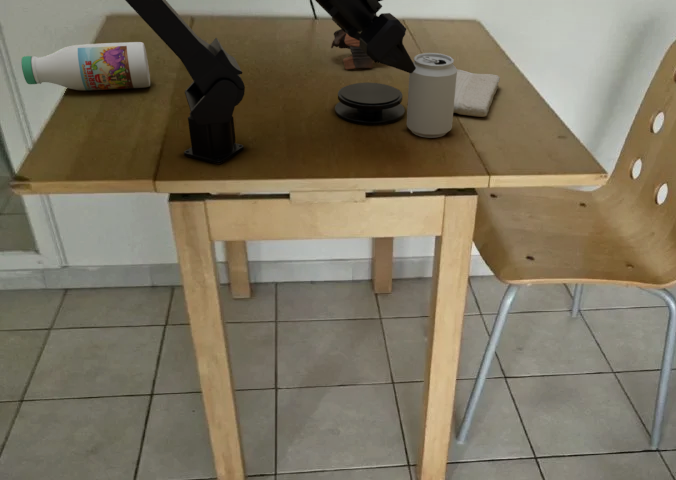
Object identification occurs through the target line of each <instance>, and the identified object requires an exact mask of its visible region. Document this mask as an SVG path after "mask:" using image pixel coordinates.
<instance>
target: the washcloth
mask: <svg viewBox="0 0 676 480" xmlns="http://www.w3.org/2000/svg"><path fill="white" fill-rule="evenodd" d="M500 80H501V76H499V75H498V74H492V73H474V72H470V71H466V70H463V69H457V77H456V88H455V99H454V110H453V114H458V115H463V116H470V117H478V118H479V117H481V118H485V117H487V116H488V113H489V111H490V107H491V105H492V102H493V100H494V97H495V94H496V93H497V90H498V89H499V87H500V86H499V83H500Z"/></svg>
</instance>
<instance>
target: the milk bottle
mask: <svg viewBox="0 0 676 480" xmlns="http://www.w3.org/2000/svg"><path fill="white" fill-rule="evenodd" d="M21 70H22V75H23V79H24V80H25V83H26V84H28V85H38V84H40V85H41V84H42V83H49V84H54V85H58V86H61V87H64V88H67V89H70V90H75V91H107V90H108V91H109V90H124V89H125V90H126V89H128V90H129V89H142V88H143V89H145V88H149V87H151V75H150V66H149V60H148V53H147V49H146V45H145V43H144V42H141V41H128V42H126V41H125V42H124V41H123V42H105V43H104V42H103V43H101V42H100V43H84V44H73V45H68V46H65V47H62V48H60V49H58V50H56V51H54V52H52V53H50V54H47V55H43V56H36V55H34V56H33V55H26V56H25V55H24V56H22V57H21Z"/></svg>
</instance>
